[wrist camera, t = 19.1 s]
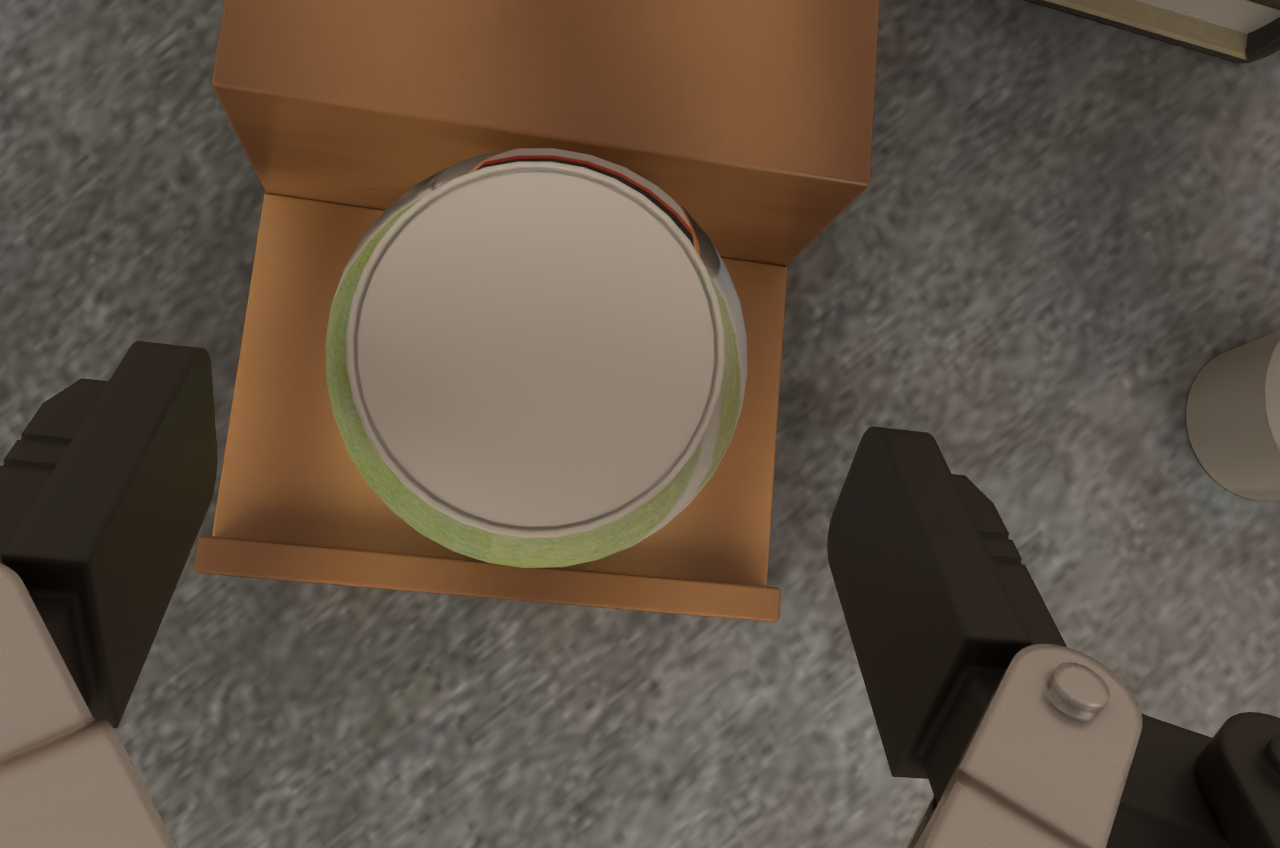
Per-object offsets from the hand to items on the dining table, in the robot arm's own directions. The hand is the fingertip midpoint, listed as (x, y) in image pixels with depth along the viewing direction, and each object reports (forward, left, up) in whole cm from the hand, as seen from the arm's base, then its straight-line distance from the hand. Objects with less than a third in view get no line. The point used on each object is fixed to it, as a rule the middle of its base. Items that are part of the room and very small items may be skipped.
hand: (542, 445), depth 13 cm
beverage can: (0, +2, -12) cm, 12 cm away
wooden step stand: (0, +6, -14) cm, 16 cm away
